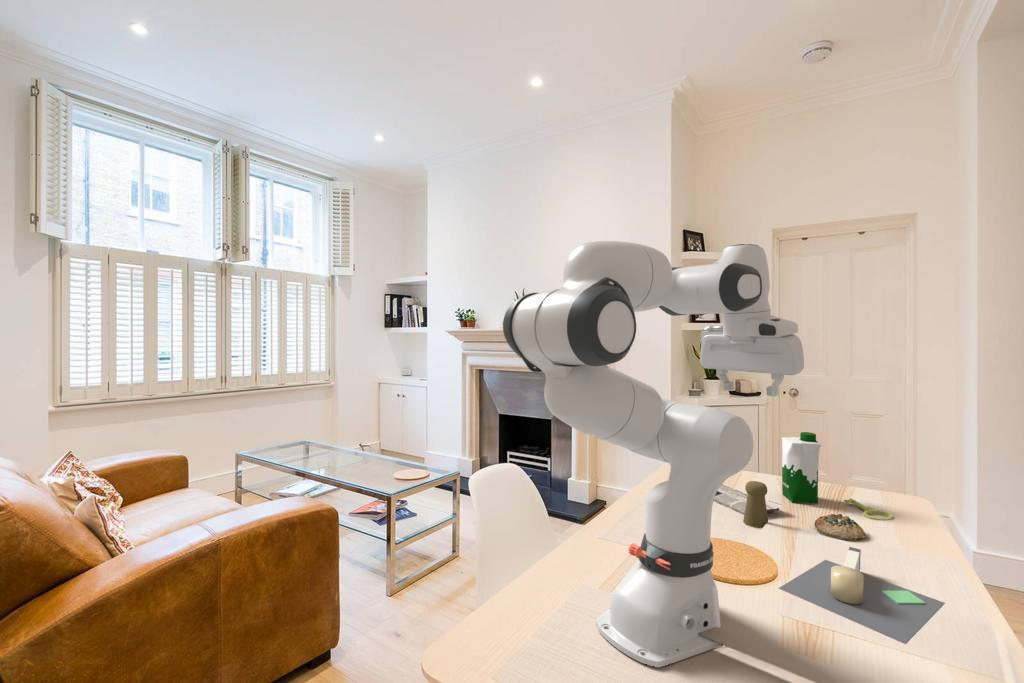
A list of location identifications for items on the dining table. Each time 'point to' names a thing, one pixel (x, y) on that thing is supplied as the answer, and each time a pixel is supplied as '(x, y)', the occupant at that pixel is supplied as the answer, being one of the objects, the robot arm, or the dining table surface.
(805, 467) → the milk carton
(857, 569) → the dial lever
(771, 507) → the newspaper
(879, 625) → the dial board
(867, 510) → the key
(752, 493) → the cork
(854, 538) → the bread roll
